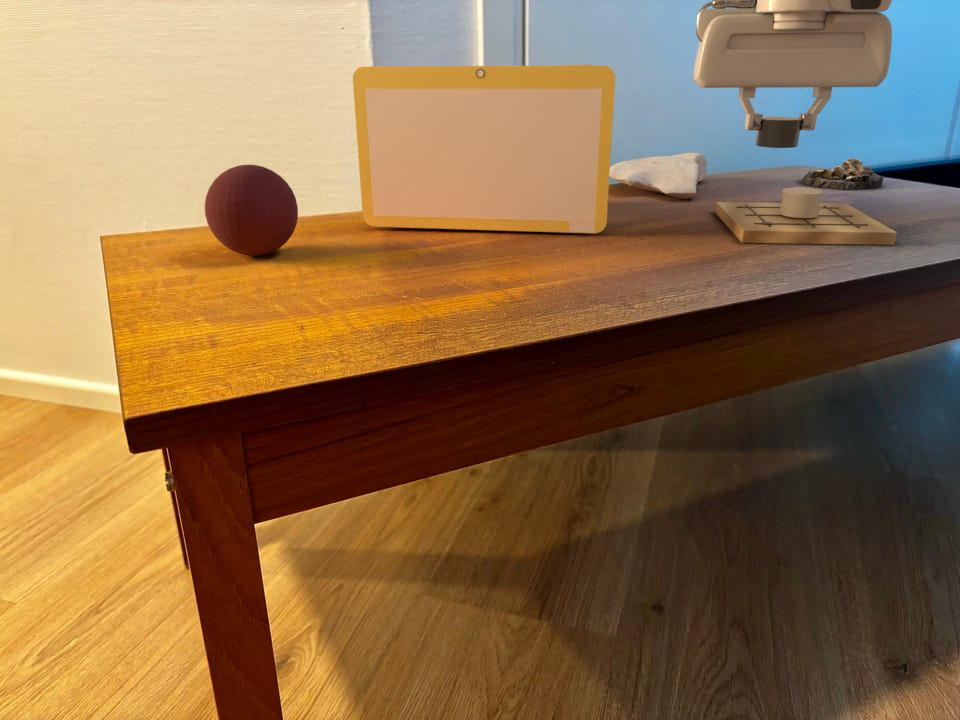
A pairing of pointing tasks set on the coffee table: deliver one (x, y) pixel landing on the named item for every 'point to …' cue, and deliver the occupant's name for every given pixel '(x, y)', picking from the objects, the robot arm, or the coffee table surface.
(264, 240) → the decorative ball
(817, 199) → the white stone
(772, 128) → the black stone
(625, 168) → the decorative stone
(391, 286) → the coffee table surface
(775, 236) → the game board
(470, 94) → the tablet
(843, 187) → the grey lumpy piece
